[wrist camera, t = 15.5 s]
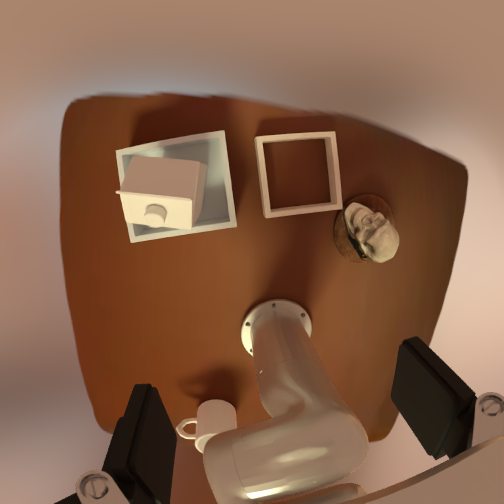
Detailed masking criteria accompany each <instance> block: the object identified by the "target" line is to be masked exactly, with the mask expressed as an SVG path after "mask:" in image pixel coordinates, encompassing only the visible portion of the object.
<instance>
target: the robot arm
mask: <svg viewBox="0 0 504 504" xmlns="http://www.w3.org/2000/svg"><path fill="white" fill-rule="evenodd" d="M274 303H275V304H274ZM273 304H274V305H273ZM302 313H303V314H302ZM247 322H249V323H247ZM311 332H312V325H311V320H310V318H309V315H308V314H307V312H306V311H305V310H304V308H303V307H302V306H300V305H299V304H297V303H295V302H293V301H291V300H286V299H272V300H268V301H265V302H262V303H260V304H258V305H257V306H255V307H254V308H253V309H252V310H251V311H250V312H249V313H248V314H247V315H246V317H245V318H244V320H243V323H242V326H241V339H242V343H243V345H244V347H245V349H246V350H247V352H249V353H250V354H251V355H252V356H253V358H254V364H255V370H256V376H257V382H258V388H259V394H260V399H261V402H262V404H263V406H264V408H265V410H266V411H267V412H268V414H269V415H270V416H271V417H273V418H271V419H270V420H266V421H263V422H259V423H255V424H252V425H248V426H244V427H240V428H236V429H233V430H228V431H225V432H221V433H219V434H216V435H214V436H213V437H211V438H210V439H209V440H208V441H207V443H206V444H205V447H204V451H203V460H204V466H205V471H206V474H207V478H208V481H209V483H210V486H211V488H212V491H213V493H214V496H215V498H216V500H217V502H218V504H504V397H503V396H502V395H500V394H498V393H493V392H488V393H484V394H482V395H481V396H479V397H478V398H477V397H476V396H475V392H473V390H472V389H471V388H469V386H468V385H467V384H466V383H465V382H464V381H463V380H462V379H461V378H460V377H459V376H458V375H457V374H456V373H455V372H454V371H453V370H452V369H451V368H450V367H449V366H448V365H447V364H446V363H445V362H444V361H443V360H442V359H440V358H439V356H437V355H436V354H435V353H434V352H433V351H432V350H431V349H430V348H429V347H428V346H427V345H426V344H425V343H424V342H423V341H422V340H421V339H420V338H419V337H417V336H415V337H412V338H409V339H406V340H404V341H403V342H402V344H401V345H400V346H399V351H398V357H397V364H396V369H395V375H394V381H393V386H392V391H391V398H392V401H393V403H394V404H395V406H396V407H397V409H398V410H399V412H400V413H401V414H402V416H403V417H404V419H405V420H406V422H407V423H408V425H409V426H410V428H411V429H412V431H413V433H414V434H415V436H416V437H417V438H418V440H419V441H420V443H421V445H422V446H423V448H424V449H425V451H426V452H427V454H428V455H430V456H431V455H432V456H433V457H434V458H435V460H437V459H439V458H441V457H443V456H445V455H446V454H447V456H448V457H449V460H447V461H445V462H443V463H441V464H439V465H437V466H435V467H433V468H431V469H429V470H427V471H425V472H423V473H421V474H418V475H416V476H414V477H412V478H409V479H407V480H405V481H403V482H400V483H397V484H395V485H392V486H390V487H387V488H385V489H382V490H379V491H377V492H373V493H370V494H368V493H367V492H366V491H365V489H364V488H363V487H361V486H360V485H358V484H354V483H346V484H340V485H336V486H332V487H328V488H325V489H321V490H318V491H315V492H311V493H308V494H305V495H302V496H298V497H294V498H290V499H286V500H281V501H277V502H271V501H269V500H272V499H277V498H281V497H285V496H289V495H292V494H298V493H302V492H305V491H309V490H312V489H315V488H318V487H322V486H324V485H327V484H330V483H333V482H336V481H338V480H340V479H342V478H344V477H346V476H348V475H350V474H351V473H353V472H354V471H356V470H357V469H358V468H359V467H360V466H361V465H362V464H363V462H364V461H365V459H366V457H367V454H368V449H369V443H368V437H367V434H366V432H365V430H364V427H363V425H362V424H361V422H360V421H359V419H358V418H357V416H356V415H355V414H354V413H353V411H352V410H351V409H350V408H349V407H348V406H347V404H346V403H345V402H344V401H343V399H342V398H341V397H340V395H339V394H338V392H337V390H336V389H335V387H334V385H333V383H332V382H331V380H330V378H329V376H328V374H327V372H326V370H325V368H324V366H323V364H322V362H321V360H320V358H319V356H318V354H317V352H316V350H315V348H314V346H313V344H312V342H311V340H310V336H311ZM251 348H252V349H251ZM176 442H177V437H176V433H175V430H174V428H173V426H172V424H171V421H170V419H169V417H168V415H167V412H166V410H165V407H164V405H163V403H162V400H161V398H160V395H159V393H158V390H157V388H156V387H152V385H151V384H136V385H135V386H134V388H133V391H132V394H131V396H130V399H129V402H128V405H127V408H126V411H125V414H124V417H120V418H119V420H118V422H117V425H116V427H115V430H114V433H113V436H112V439H111V443H110V445H109V448H108V452H107V455H106V458H105V461H104V465H103V467H102V471H99V470H92V471H88V472H86V473H84V474H83V475H81V477H80V478H79V479H78V481H77V483H76V493H75V494H72V495H71V496H68V497H67V498H65V499H62V500H61V501H58V502H56V503H54V504H170V495H171V486H172V476H173V467H174V458H175V450H176Z"/></svg>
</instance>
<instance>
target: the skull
mask: <svg viewBox="0 0 504 504" xmlns="http://www.w3.org/2000/svg"><path fill="white" fill-rule="evenodd" d="M342 208H343V209H341V211H340V212H339V214H338V216H337V219H336V223H335V227H334V228H335V229H334V237H335V242H336V245H337V247H338V249H339V251H340V252H341V254H342V255H343V256H344V257H346V258H347V259H349V260H351V261H353V262H358V263H361V262H369V261H364V260H363V259H362V258H366V257H368V258H369V259H370V260H372V261H375V262H380V263H382V262H384V261H387V260H389V259H391V258H392V257H393V256H394V255H395V253H396V251H397V248H398V245H399V235H398V233H397V231H396V230H395V229H394V216H393V213H392V211H391V208H390V207H389V205H388V204H387V203H386V202H385V201H384V200H383V199H382V198H380V197H378V196H376V195H372V194H363V195H359V196H357V197H354V198H353V199H351V200H350V201H348V202H347V203H346V204H345V205H344V206H343V207H342ZM364 254H365V255H364ZM362 255H364V257H363V256H362Z"/></svg>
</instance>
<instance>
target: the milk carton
mask: <svg viewBox="0 0 504 504" xmlns="http://www.w3.org/2000/svg"><path fill="white" fill-rule="evenodd" d="M207 170H208V165H206V164H204V163H201V162H199V161H192V160H182V159H172V158H161V157H149V156H133V157H132V159H131V162H130V164H129V167H128V169H127V172H126V175H125V177H124V180H123V183H122V186H121V188H120V190H119V191H116V193H117V194H120V197H121V201H122V206H123V211H124V215H125V219H126V222H128V223H135V224H143V225H148V226H150V227H154V228H159V227H169V228H177V229H186V230H191V229H192V228H193V226H194V224H195V222H196V221H197V219H198V217H199V215H200V214H201V212H202V207H203V199H204V192H205V184H206V177H207Z"/></svg>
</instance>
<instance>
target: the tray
mask: <svg viewBox="0 0 504 504" xmlns="http://www.w3.org/2000/svg"><path fill="white" fill-rule="evenodd" d="M308 139H325V147H326V156H327V165H328V175H329V186H330V197H331V202H329V203H319V204H310V205H302V206H293V207H285V208H277V209H270V201H269V193H268V184H267V176H266V168H265V159H264V151H263V143H270V142H281V141H293V140H308ZM254 142H255V150H256V158H257V166H258V175H259V183H260V191H261V199H262V208H263V215H264V217H265V218H272V217H280V216H288V215H296V214H304V213H312V212H320V211H329V210H338V209H343V208H342V194H341V182H340V171H339V162H338V152H337V144H336V135H335V131H333V132H310V133H294V134H281V135H269V136H259V137H255V139H254Z"/></svg>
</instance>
